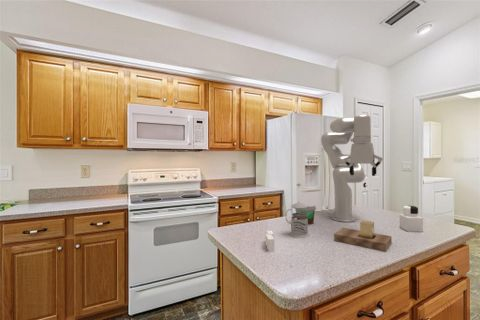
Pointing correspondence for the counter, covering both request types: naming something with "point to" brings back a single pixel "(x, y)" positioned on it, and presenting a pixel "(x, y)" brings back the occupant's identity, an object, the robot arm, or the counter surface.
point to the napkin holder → (270, 240)
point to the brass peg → (367, 229)
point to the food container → (307, 213)
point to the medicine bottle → (411, 219)
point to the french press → (299, 221)
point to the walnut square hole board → (363, 239)
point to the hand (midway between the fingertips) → (362, 175)
